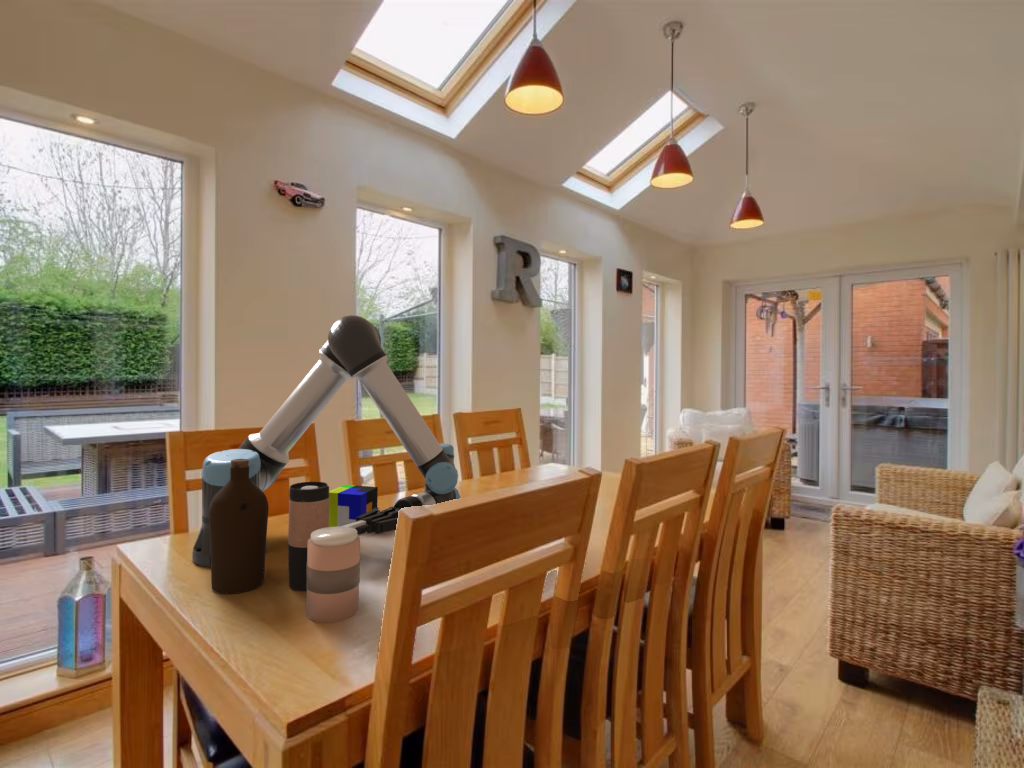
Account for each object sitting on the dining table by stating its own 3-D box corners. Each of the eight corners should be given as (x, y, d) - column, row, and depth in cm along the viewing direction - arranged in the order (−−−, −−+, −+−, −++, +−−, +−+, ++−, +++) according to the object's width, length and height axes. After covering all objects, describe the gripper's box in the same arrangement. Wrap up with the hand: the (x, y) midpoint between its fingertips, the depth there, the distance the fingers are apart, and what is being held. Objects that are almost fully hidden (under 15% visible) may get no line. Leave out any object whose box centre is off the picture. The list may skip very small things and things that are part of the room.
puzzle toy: (360, 532, 143) (360, 495, 143) (325, 529, 145) (326, 492, 145) (376, 522, 153) (377, 487, 153) (344, 519, 155) (345, 484, 155)
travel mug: (278, 588, 107) (280, 487, 106) (304, 574, 114) (305, 480, 114) (311, 593, 105) (313, 491, 104) (335, 579, 112) (337, 483, 111)
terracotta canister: (298, 622, 93) (300, 541, 93) (314, 599, 102) (315, 525, 102) (353, 622, 94) (354, 541, 93) (363, 599, 103) (365, 525, 103)
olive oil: (279, 580, 111) (281, 458, 110) (233, 600, 101) (235, 467, 100) (242, 570, 115) (244, 453, 114) (195, 588, 105) (196, 461, 105)
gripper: (434, 529, 133) (362, 557, 113) (394, 520, 140) (320, 545, 120) (434, 499, 133) (363, 521, 113) (395, 491, 140) (320, 511, 120)
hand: (341, 533), depth 116 cm, fingers closed
